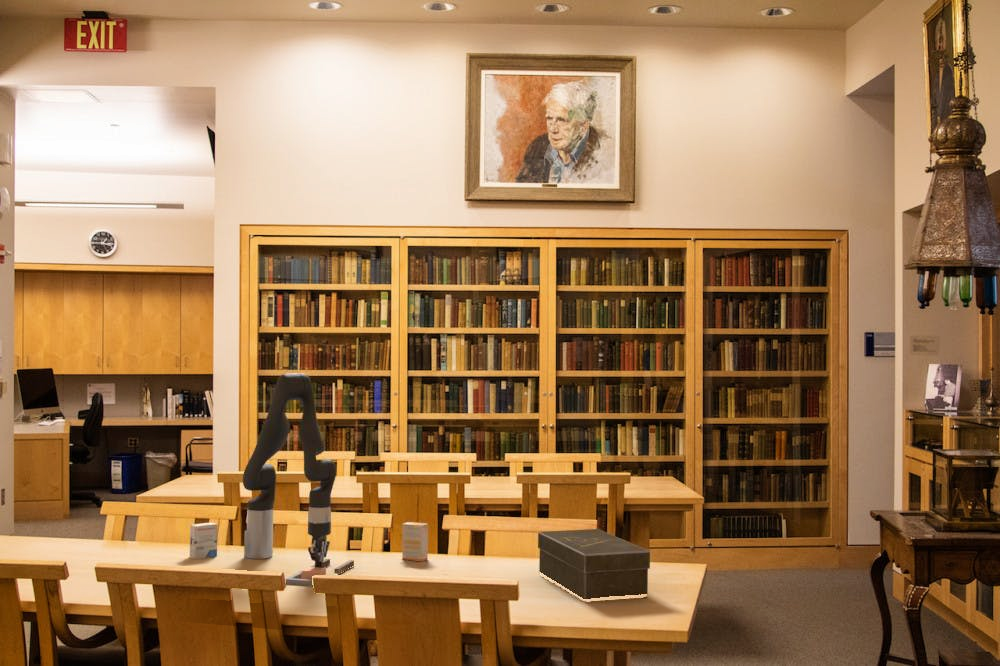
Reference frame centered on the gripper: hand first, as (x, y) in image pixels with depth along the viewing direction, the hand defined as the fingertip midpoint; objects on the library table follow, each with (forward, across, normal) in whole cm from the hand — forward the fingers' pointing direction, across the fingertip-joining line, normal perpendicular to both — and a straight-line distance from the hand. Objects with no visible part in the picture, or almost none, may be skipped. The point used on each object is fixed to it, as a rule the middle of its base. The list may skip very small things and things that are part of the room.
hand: (318, 572), depth 337 cm
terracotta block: (+2, +5, 0) cm, 5 cm away
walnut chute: (+2, -12, 0) cm, 12 cm away
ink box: (+2, -18, -52) cm, 55 cm away
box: (+2, -14, +89) cm, 90 cm away
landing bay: (+2, +5, 0) cm, 5 cm away
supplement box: (+2, -36, +22) cm, 42 cm away
